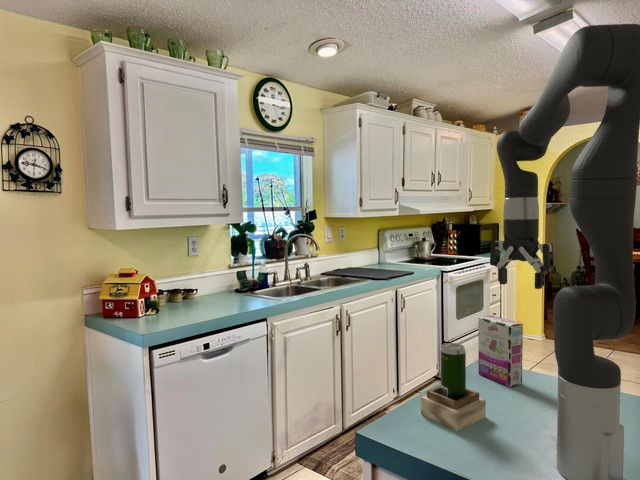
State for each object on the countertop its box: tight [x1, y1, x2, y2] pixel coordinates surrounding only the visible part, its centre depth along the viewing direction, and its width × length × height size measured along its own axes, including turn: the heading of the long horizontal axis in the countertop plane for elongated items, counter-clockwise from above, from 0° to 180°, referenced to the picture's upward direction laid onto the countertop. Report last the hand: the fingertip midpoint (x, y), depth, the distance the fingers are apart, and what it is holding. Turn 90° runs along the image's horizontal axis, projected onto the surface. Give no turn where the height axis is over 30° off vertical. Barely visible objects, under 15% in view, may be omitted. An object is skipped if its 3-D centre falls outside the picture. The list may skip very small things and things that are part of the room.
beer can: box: [440, 342, 467, 401], centre depth 99 cm, size 5×5×12 cm
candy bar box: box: [477, 315, 524, 388], centre depth 119 cm, size 11×5×16 cm, turn 25°
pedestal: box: [420, 384, 487, 432], centre depth 99 cm, size 10×10×6 cm
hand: (520, 286), depth 103 cm, fingers open, 8 cm apart
